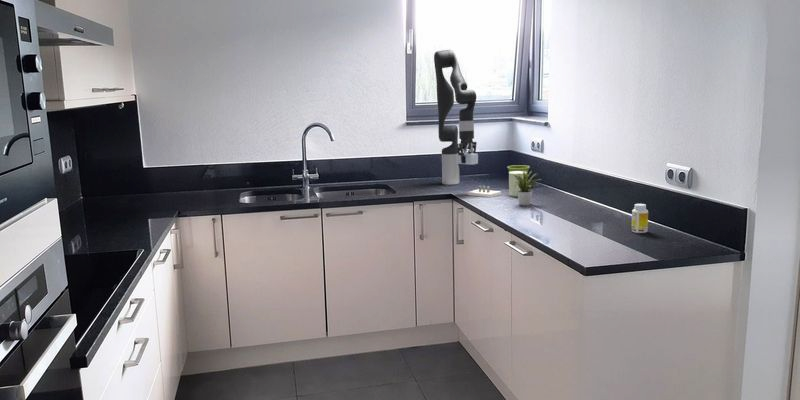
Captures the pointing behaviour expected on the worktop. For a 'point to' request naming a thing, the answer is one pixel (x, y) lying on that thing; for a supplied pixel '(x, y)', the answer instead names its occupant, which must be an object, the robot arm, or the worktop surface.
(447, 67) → the robot arm
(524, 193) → the house plant
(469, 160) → the plug housing
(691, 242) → the worktop surface
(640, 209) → the supplement bottle
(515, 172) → the can
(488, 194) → the white peg board
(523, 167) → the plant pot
